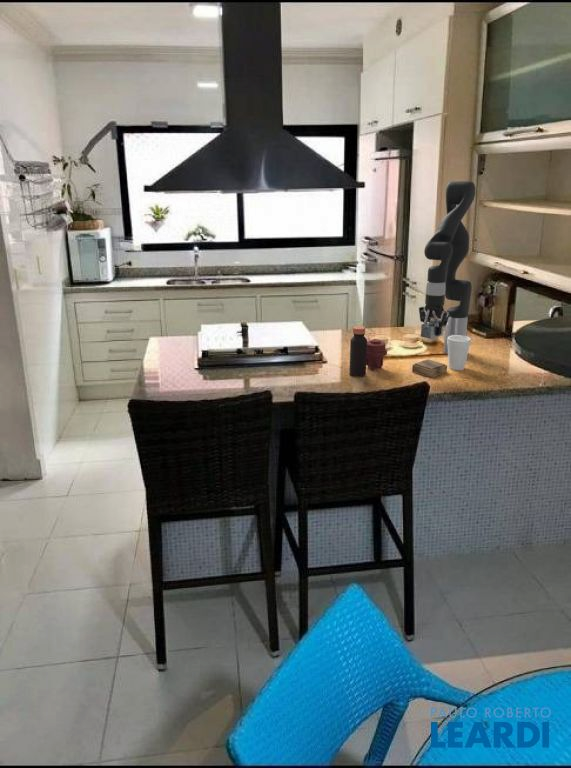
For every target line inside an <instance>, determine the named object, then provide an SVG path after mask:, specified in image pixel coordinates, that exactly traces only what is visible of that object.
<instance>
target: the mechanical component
mask: <svg viewBox="0 0 571 768" xmlns="http://www.w3.org/2000/svg"><path fill="white" fill-rule="evenodd" d="M387 354H388V350H387V348H386V342H385V341H383V340H380V339H377V338H374V339H371V340H367V360H366V367H367V368H369V369H371V370H372V371H373V372H375V371H377V370H378V369H382V368H383V365H384V357H385V356H387Z"/></svg>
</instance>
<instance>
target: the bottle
mask: <svg viewBox="0 0 571 768" xmlns="http://www.w3.org/2000/svg"><path fill="white" fill-rule="evenodd" d="M352 334H353V336H352V337H351V338H350V341H349V342H350V344H349V347H350V348H349V349H350V350H349V375H350V376H351V377H355V378H362V377H366V375H367V365H366V360H367V341H368V339H367V337H366V336H365V335H366V326H362V325H359V326H357V325H355V326H353V327H352Z"/></svg>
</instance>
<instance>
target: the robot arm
mask: <svg viewBox="0 0 571 768" xmlns="http://www.w3.org/2000/svg"><path fill="white" fill-rule="evenodd" d="M475 196H476V185H475V183H474V182H473V181H470V180H469V181H468V180H465V181H462V180H461V181H459V180H458V181H457V180H456V181H455V180H453V181H449V182H448V183H447V185H446V189H445V206H446V209H445V211H446V215H445V216H444V217H443V218H442V219H441V221H440V223H439V225H438V227H437V229H436V232H435V233H434V235H432V237H431V238H430V239H429V240H428V241H427V243H426V245H425V247H424V256H425V258H426V259H427V260H433V261H440V263H439V265H433V266H429V267H428V270H427V279H426V280H427V281H426V286H425V287H426V288H425V300H424V303H425V306H420V307H418V312H419V320H420V322H421V323H422V324H425V323H427V322H428V321H431V320H435V322H436V326H437V327H436V336H439V337H441V336H440V334H441V331H442V326H444V327H445V329H444V342H443V353H444V354H446V355H448V344H447V338H448V337H449V336H452V335H461V336H467V337H468V332H467V330H468V329H467V327H468V318H469V311H470V305H471V304H470V302H471V297H472V291H473V289H472V288H473V286H472V282H471V281H470V280H465V279H456V275H457V271H458V268H459V267H460V265H461V264H462V262H464V259H466V257H467V255H468V254H469V250H470V234H469V232H468V230H467V228H466V225H464V223H463V222H462V220H463V219H464V217H465V215H466V214H467V212H468V210H469V209H470V207H471V205H472V204H473V202H474V200H475ZM446 299H447V301H448V300H449V301H454V302H455V301H457V302H459V304H458V305H457V306H456V305H455V306H452V307H449V308H447V309H446V311H445V309H444V305H445V302H446V301H445V300H446Z"/></svg>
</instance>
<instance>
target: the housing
mask: <svg viewBox="0 0 571 768" xmlns="http://www.w3.org/2000/svg"><path fill="white" fill-rule="evenodd" d="M436 327H437V326H436V322H435V320H434V319H431V320H430V321H428V322H427V323H425V324H424V323H421V326H420V337H422V338H426V339H430V340H432V339H435V338H439V337H443V336H444V330H445V329H444V327H445V326H442V331H441V334H440V336H436Z"/></svg>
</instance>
